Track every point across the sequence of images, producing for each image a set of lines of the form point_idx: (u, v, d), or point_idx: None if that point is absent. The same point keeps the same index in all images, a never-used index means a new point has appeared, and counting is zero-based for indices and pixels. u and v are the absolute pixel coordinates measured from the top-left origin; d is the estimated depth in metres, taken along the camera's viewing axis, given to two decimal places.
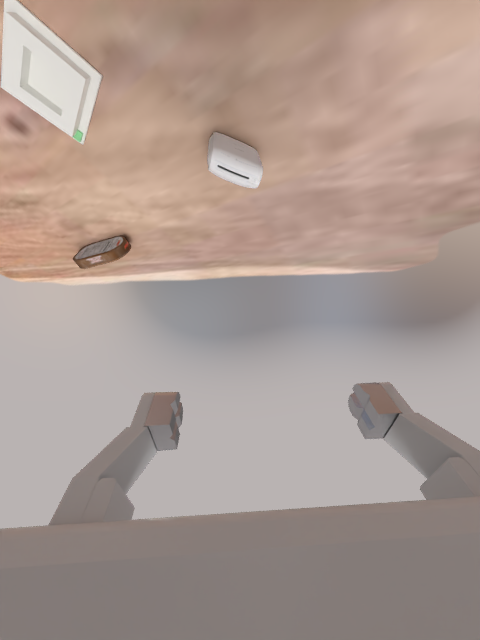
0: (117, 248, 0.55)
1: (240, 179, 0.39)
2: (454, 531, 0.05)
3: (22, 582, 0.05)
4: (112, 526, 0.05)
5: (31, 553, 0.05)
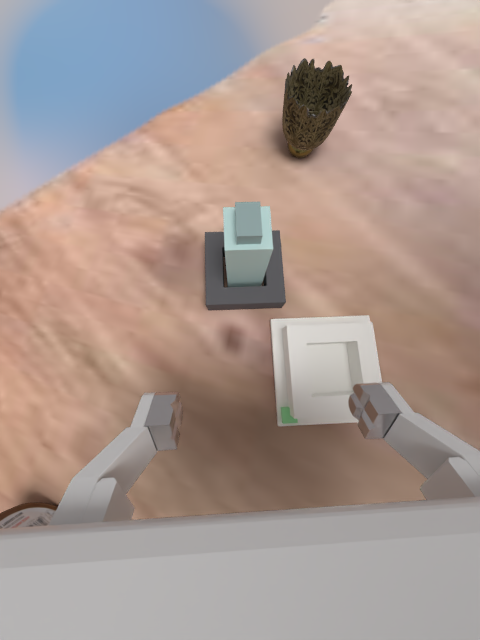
0: None
1: None
2: (454, 531, 0.05)
3: (22, 582, 0.05)
4: (112, 526, 0.05)
5: (31, 553, 0.05)
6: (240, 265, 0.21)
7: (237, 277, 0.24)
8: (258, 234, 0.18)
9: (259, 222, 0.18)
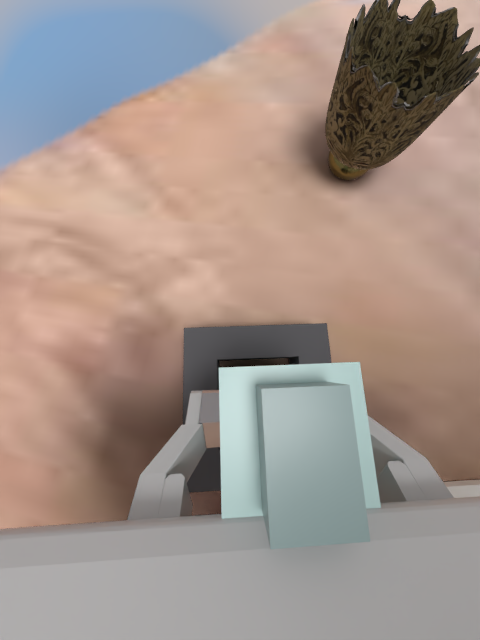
0: None
1: None
2: (454, 531, 0.05)
3: (22, 582, 0.05)
4: (112, 526, 0.05)
5: (31, 553, 0.05)
6: None
7: None
8: (354, 533, 0.05)
9: (353, 476, 0.05)
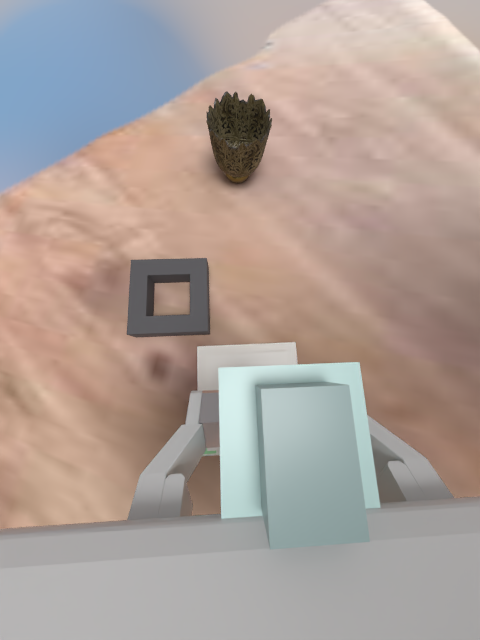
0: None
1: None
2: (454, 531, 0.05)
3: (23, 581, 0.05)
4: (112, 526, 0.05)
5: (31, 553, 0.05)
6: None
7: None
8: (353, 533, 0.05)
9: (353, 476, 0.05)
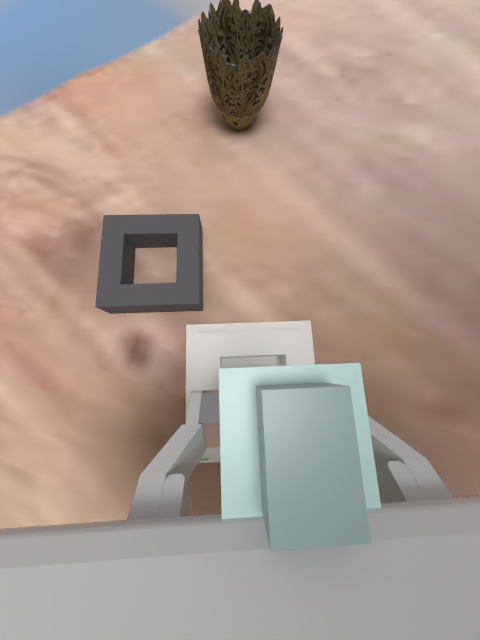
0: None
1: None
2: (454, 531, 0.05)
3: (22, 582, 0.05)
4: (112, 526, 0.05)
5: (31, 553, 0.05)
6: None
7: None
8: (354, 535, 0.04)
9: (354, 478, 0.05)
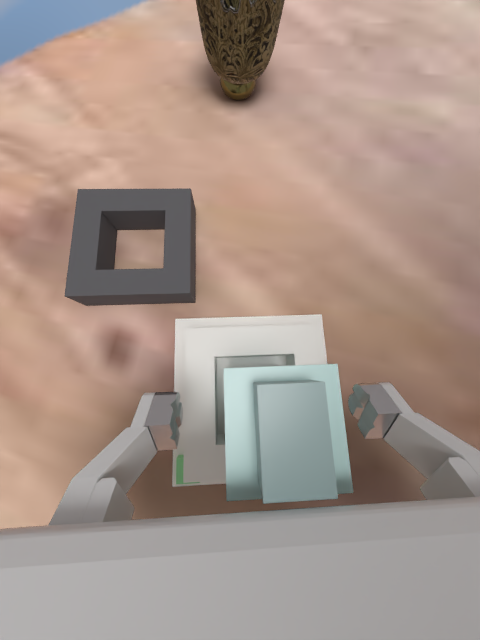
0: None
1: None
2: (454, 531, 0.05)
3: (22, 582, 0.05)
4: (112, 526, 0.05)
5: (31, 553, 0.05)
6: None
7: None
8: (325, 493, 0.06)
9: (326, 451, 0.06)
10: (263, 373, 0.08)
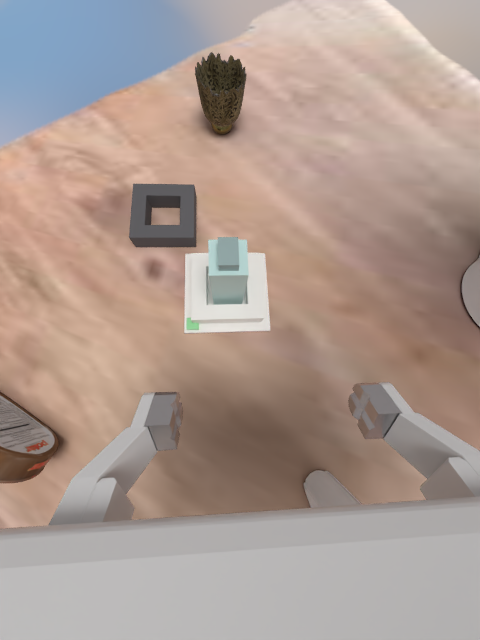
0: (19, 458, 0.21)
1: None
2: (454, 531, 0.05)
3: (22, 582, 0.05)
4: (112, 526, 0.05)
5: (31, 553, 0.05)
6: (222, 286, 0.25)
7: (221, 295, 0.28)
8: (236, 264, 0.22)
9: (237, 254, 0.22)
10: None
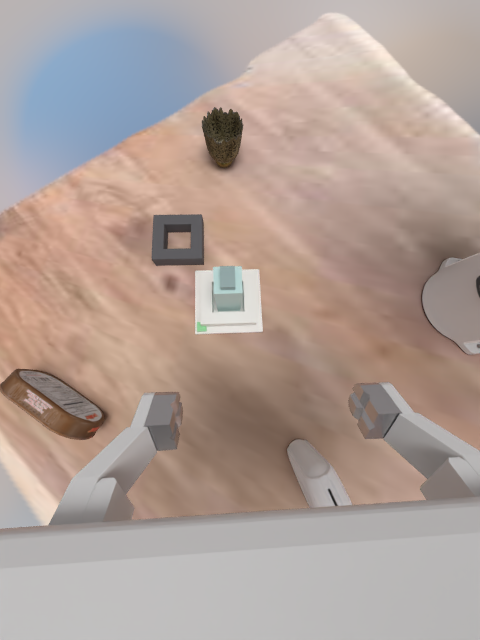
0: (83, 423, 0.31)
1: None
2: (454, 531, 0.05)
3: (23, 581, 0.05)
4: (112, 526, 0.05)
5: (31, 553, 0.05)
6: (224, 299, 0.34)
7: (223, 305, 0.37)
8: (233, 286, 0.30)
9: (233, 278, 0.30)
10: None
